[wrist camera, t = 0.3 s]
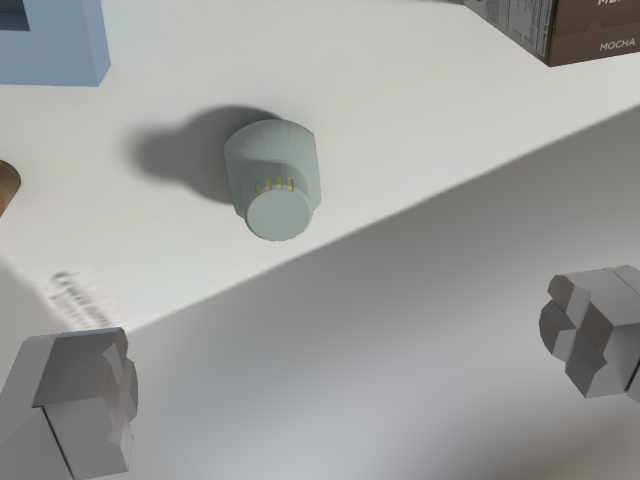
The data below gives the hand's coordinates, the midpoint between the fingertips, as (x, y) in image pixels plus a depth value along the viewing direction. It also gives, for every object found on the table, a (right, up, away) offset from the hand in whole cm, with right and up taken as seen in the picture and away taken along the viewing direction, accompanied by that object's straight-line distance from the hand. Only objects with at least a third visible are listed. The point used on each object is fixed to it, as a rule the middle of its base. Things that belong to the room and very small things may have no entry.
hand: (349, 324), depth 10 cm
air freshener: (-5, +10, +42) cm, 44 cm away
